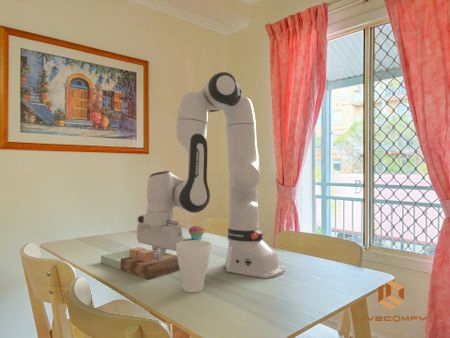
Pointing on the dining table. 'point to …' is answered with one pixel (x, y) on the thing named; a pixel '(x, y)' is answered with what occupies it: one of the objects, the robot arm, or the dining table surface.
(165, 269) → the board
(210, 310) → the dining table surface
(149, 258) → the tile
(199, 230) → the cupcake
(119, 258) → the tray
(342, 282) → the dining table surface
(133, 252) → the tile
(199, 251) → the cup
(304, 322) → the dining table surface
